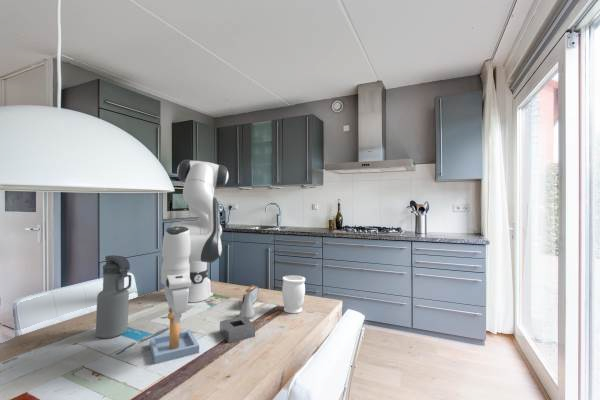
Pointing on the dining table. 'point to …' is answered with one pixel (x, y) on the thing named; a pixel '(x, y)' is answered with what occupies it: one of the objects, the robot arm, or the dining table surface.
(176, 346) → the wooden peg
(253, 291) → the tin
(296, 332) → the dining table surface
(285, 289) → the jar
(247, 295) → the flask
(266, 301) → the dining table surface
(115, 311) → the water bottle
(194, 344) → the tray
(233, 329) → the metal block with hole
